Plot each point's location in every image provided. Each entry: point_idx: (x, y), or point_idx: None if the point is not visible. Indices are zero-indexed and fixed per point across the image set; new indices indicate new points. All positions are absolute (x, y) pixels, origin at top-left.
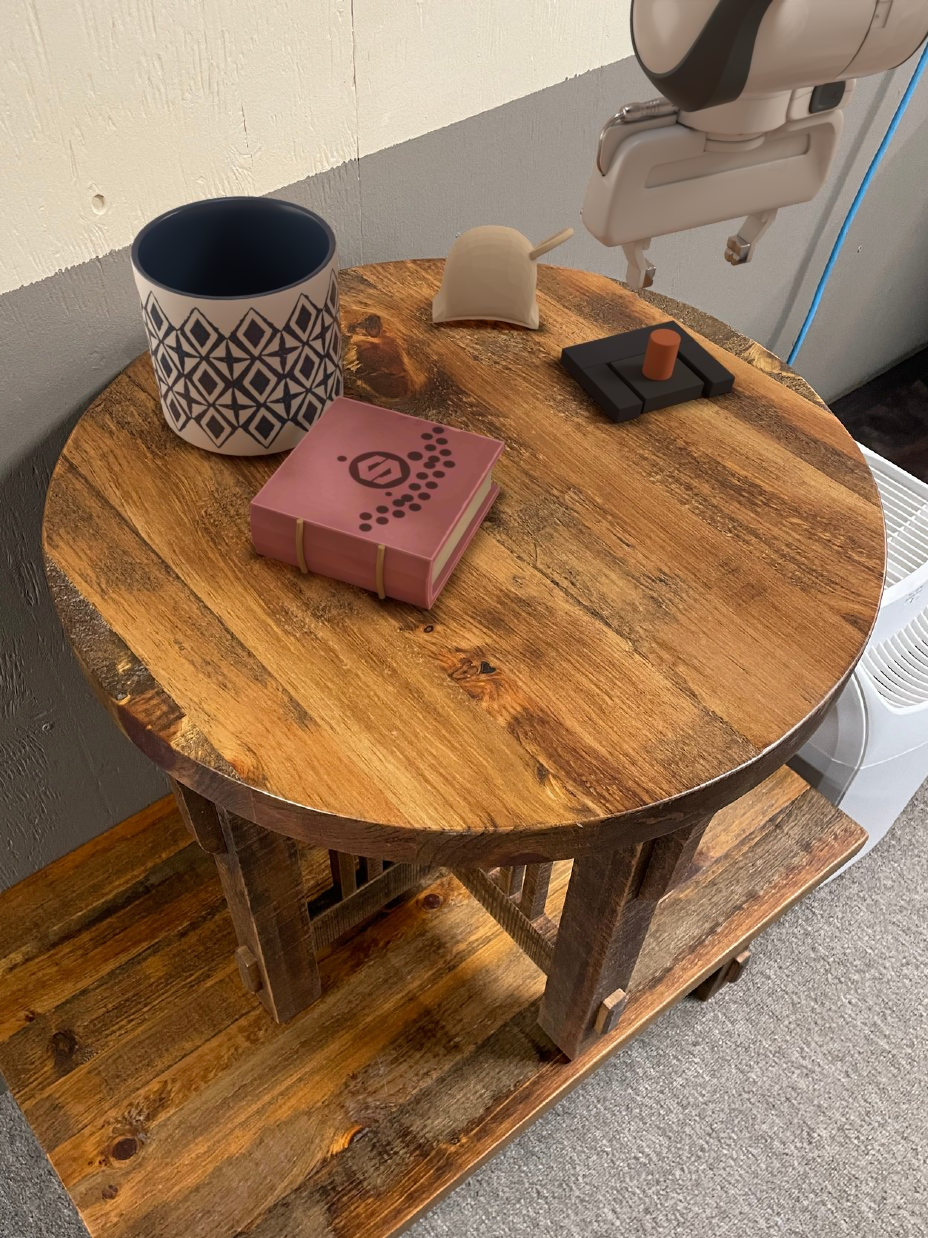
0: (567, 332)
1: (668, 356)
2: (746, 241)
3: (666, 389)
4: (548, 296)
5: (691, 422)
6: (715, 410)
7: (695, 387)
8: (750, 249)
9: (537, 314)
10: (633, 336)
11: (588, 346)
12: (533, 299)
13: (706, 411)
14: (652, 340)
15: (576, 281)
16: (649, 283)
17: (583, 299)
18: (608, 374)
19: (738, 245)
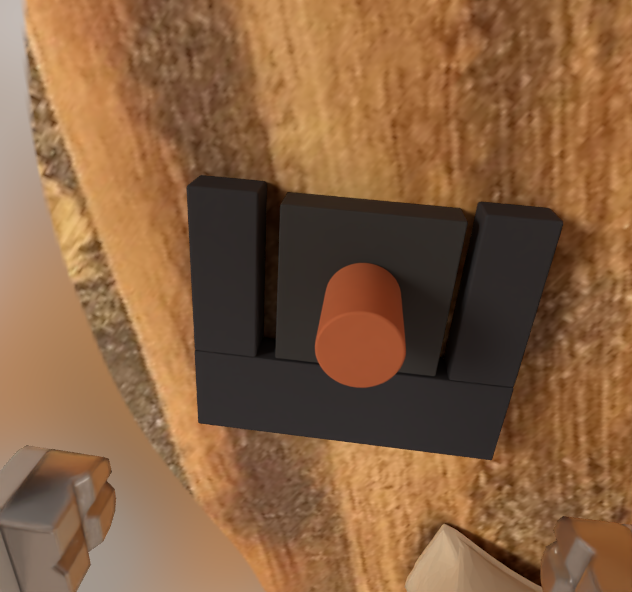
0: (396, 493)
1: (374, 295)
2: (5, 545)
3: (391, 228)
4: (352, 575)
5: (374, 116)
6: (284, 129)
7: (308, 204)
8: (6, 496)
9: (429, 552)
10: (318, 420)
11: (435, 439)
12: (440, 587)
13: (308, 137)
14: (404, 356)
15: (276, 581)
16: (594, 530)
17: (299, 544)
18: (474, 344)
19: (60, 541)
